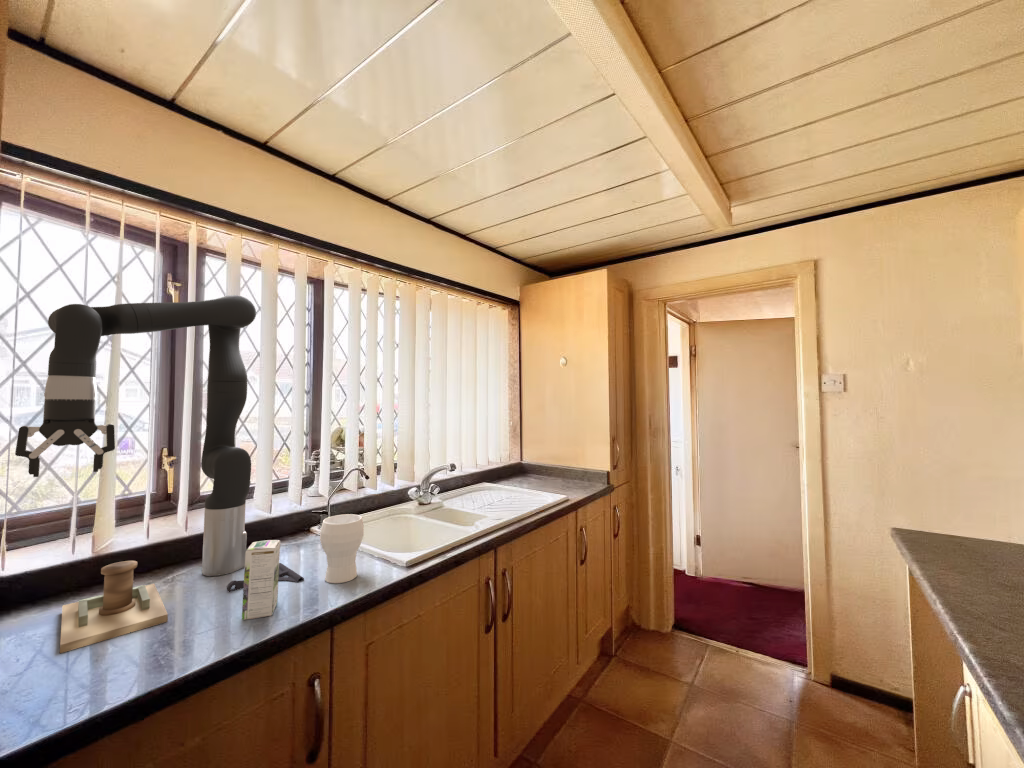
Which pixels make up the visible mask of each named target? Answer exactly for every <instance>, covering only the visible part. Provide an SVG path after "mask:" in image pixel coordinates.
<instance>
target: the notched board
mask: <svg viewBox="0 0 1024 768" xmlns="http://www.w3.org/2000/svg"><path fill="white" fill-rule="evenodd" d="M155 584H156V583H151V584H147V585H145V584H142V585H138V586H133V593H132V599H135V600H136V602H135V606H134V607H133V608H131V609H129V610H127V611H125V612H122V613H118V614H114V615H108V616H102V615H99V608H100V607H102V606H103V594H99V595H96V596H92V597H88V598H84V599H79V600H78V601H76V602H72V603H67V604H63V605H62V608H61V609H62V610H61V627H60V641H59V642H60V645H59V654H62V653H63V654H64V653H66V652H70V651H73V650H76V649H81V648H83V647H86V646H90V645H93V644H97V643H99V642H103V641H106V640H109V639H115V638H117V637H121V636H123V635H127V634H129V633H130V632H131V633H133V632H136V631H137V632H138V631H140V630H144V629H146V628H151V627H153V626H157V625H160V624H164V623H168V617H169V616H168V615H169V614H168V612H167V609H166V607H165V605H164V602H163V600H162V598H161V595H160V593H159V590H158V589H157V587H156V585H155Z"/></svg>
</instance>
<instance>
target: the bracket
mask: <svg viewBox="0 0 1024 768" xmlns="http://www.w3.org/2000/svg"><path fill="white" fill-rule="evenodd" d="M299 580H300V581H302V582H304V581H305V579H304V576H302V575H300V574H299V573H297V572H296V571H294V570H293V569H291V568H289V567H288V566H287V565H284V563H281V562H279V578H278V582H289V583H299V582H300V581H299ZM232 587H234V588H232ZM243 587H244V579H243V580H231V581H230V582H229V583H228V584H227V586H226V591H227V592H228V593H232V592H235V591H238V590H241V589H243Z"/></svg>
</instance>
